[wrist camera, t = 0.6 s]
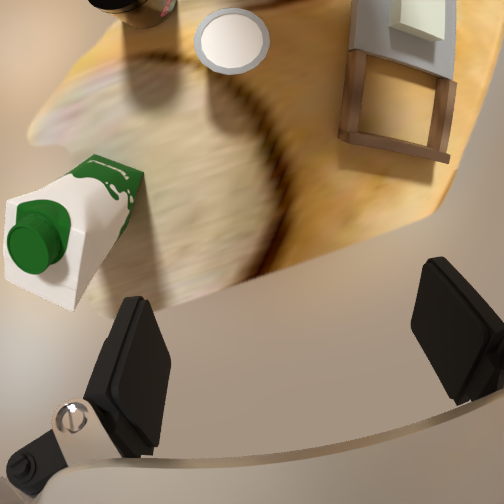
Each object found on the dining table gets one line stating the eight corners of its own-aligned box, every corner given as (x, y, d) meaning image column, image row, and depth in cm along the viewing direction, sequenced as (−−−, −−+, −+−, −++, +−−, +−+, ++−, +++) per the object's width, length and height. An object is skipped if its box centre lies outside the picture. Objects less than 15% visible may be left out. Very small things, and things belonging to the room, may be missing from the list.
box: (347, 52, 30) (360, 48, 27) (443, 81, 31) (461, 83, 28) (337, 137, 35) (348, 143, 32) (432, 156, 36) (448, 164, 33)
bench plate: (353, -45, 23) (359, -50, 22) (447, -8, 25) (455, -11, 23) (348, 50, 30) (353, 48, 28) (444, 79, 31) (452, 80, 29)
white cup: (220, 13, 28) (216, -4, 21) (275, 39, 29) (284, 27, 23) (190, 63, 30) (179, 56, 24) (244, 88, 32) (247, 87, 26)
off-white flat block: (390, -15, 24) (401, -22, 21) (432, 1, 24) (445, -3, 22) (388, 26, 27) (400, 22, 24) (430, 41, 27) (444, 40, 25)
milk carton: (153, 167, 36) (82, 244, 18) (132, 231, 39) (70, 338, 22) (90, 144, 34) (-15, 201, 16) (74, 209, 37) (-13, 296, 20)
